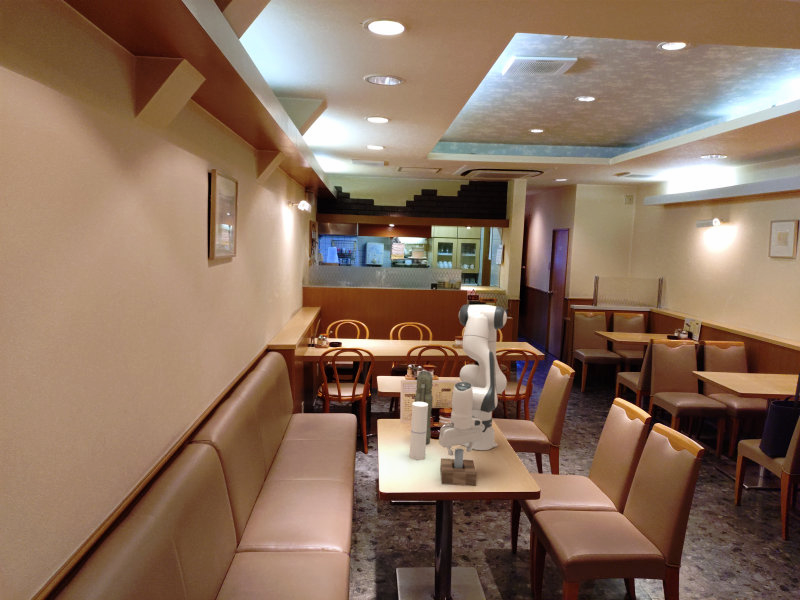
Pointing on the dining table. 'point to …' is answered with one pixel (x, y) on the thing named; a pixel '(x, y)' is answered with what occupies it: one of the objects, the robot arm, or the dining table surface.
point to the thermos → (425, 396)
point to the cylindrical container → (418, 430)
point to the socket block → (458, 473)
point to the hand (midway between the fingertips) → (459, 453)
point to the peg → (458, 458)
